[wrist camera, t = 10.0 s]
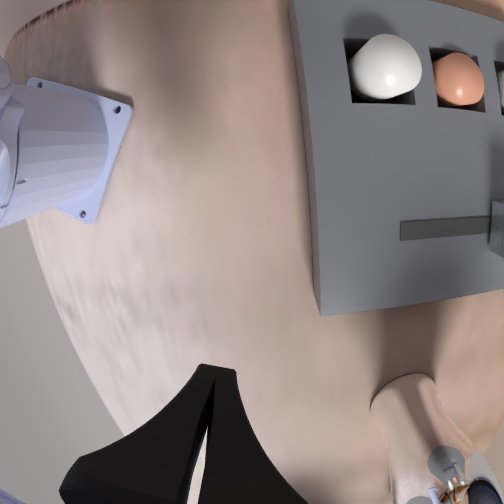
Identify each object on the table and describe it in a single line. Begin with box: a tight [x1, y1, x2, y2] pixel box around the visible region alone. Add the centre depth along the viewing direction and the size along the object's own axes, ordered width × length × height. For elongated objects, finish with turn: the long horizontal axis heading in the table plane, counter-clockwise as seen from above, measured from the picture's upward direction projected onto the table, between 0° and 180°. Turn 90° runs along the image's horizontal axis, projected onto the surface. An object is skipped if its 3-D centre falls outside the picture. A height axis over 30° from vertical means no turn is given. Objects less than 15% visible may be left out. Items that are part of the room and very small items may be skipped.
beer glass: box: [370, 374, 504, 504], centre depth 16 cm, size 7×7×15 cm
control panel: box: [288, 0, 504, 316], centre depth 16 cm, size 18×18×3 cm
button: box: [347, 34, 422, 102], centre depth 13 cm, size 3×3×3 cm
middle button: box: [431, 53, 484, 108], centre depth 14 cm, size 3×3×3 cm
